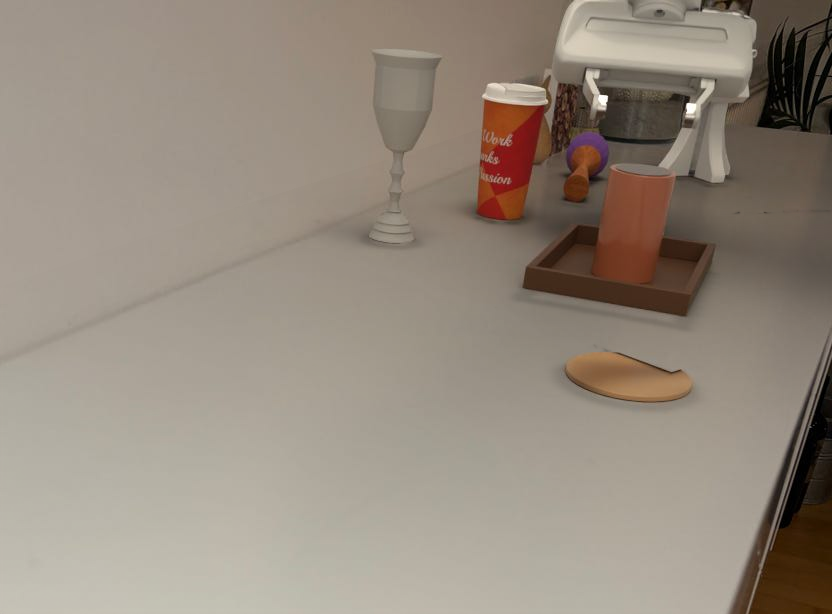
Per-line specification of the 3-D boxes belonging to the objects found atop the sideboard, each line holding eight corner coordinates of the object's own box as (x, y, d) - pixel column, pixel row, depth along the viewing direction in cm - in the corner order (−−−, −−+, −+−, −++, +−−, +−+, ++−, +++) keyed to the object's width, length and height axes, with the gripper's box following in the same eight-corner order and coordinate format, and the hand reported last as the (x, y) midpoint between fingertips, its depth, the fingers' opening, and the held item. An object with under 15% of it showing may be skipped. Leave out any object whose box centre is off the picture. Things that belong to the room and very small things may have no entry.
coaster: (715, 385, 87) (716, 380, 87) (641, 411, 81) (642, 406, 81) (615, 348, 93) (616, 344, 93) (540, 370, 87) (540, 365, 87)
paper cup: (457, 206, 134) (472, 81, 126) (512, 205, 137) (530, 82, 129) (485, 222, 128) (502, 91, 120) (542, 221, 131) (562, 92, 123)
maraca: (552, 165, 139) (567, 129, 155) (553, 213, 143) (568, 173, 158) (599, 162, 138) (610, 125, 153) (599, 210, 141) (610, 170, 156)
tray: (684, 322, 101) (690, 294, 99) (521, 293, 105) (525, 266, 103) (710, 268, 118) (716, 243, 116) (569, 245, 122) (573, 221, 120)
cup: (666, 278, 111) (690, 173, 105) (628, 287, 107) (651, 179, 101) (616, 262, 115) (636, 160, 109) (578, 270, 111) (597, 165, 105)
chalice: (352, 239, 118) (364, 53, 108) (366, 226, 123) (379, 47, 113) (418, 248, 116) (436, 60, 106) (429, 234, 122) (447, 54, 112)
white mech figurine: (689, 185, 155) (721, 42, 145) (636, 165, 165) (663, 31, 155) (755, 183, 159) (791, 45, 149) (700, 164, 169) (730, 33, 159)
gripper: (749, 35, 116) (738, 149, 113) (558, 19, 118) (542, 131, 115) (767, -11, 110) (756, 109, 107) (565, -28, 112) (549, 90, 109)
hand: (643, 120), depth 111 cm, fingers open, 8 cm apart
